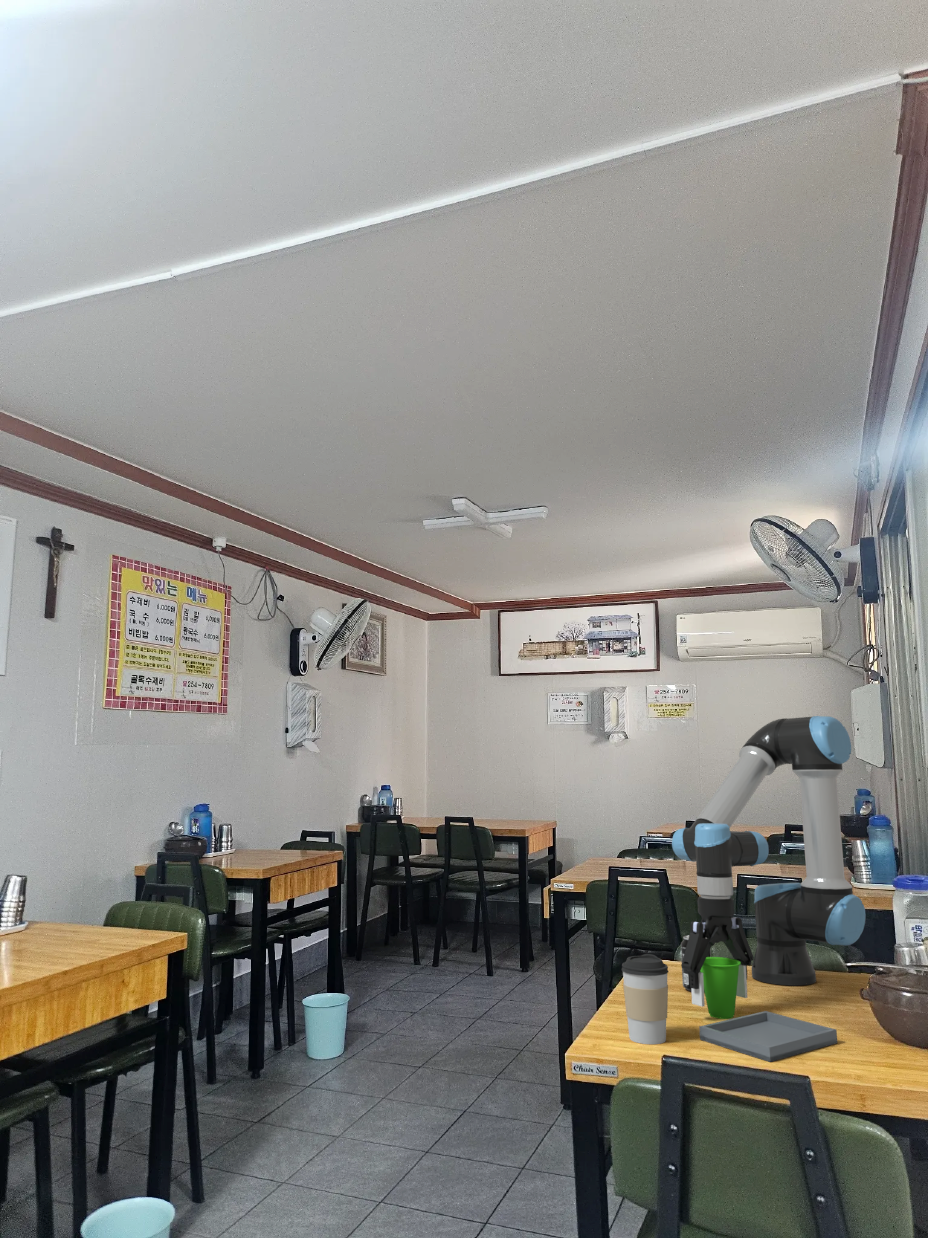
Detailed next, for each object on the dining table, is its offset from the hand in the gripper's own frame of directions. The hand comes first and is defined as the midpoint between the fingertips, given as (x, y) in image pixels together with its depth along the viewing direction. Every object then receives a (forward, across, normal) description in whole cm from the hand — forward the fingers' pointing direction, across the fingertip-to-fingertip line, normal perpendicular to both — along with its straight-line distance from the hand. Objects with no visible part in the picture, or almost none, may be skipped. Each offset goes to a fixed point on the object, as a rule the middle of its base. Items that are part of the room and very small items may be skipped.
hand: (720, 1001), depth 182 cm
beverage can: (+3, -13, -18) cm, 23 cm away
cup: (+3, 0, 0) cm, 3 cm away
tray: (+3, +7, +17) cm, 19 cm away
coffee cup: (+3, +25, +3) cm, 25 cm away
